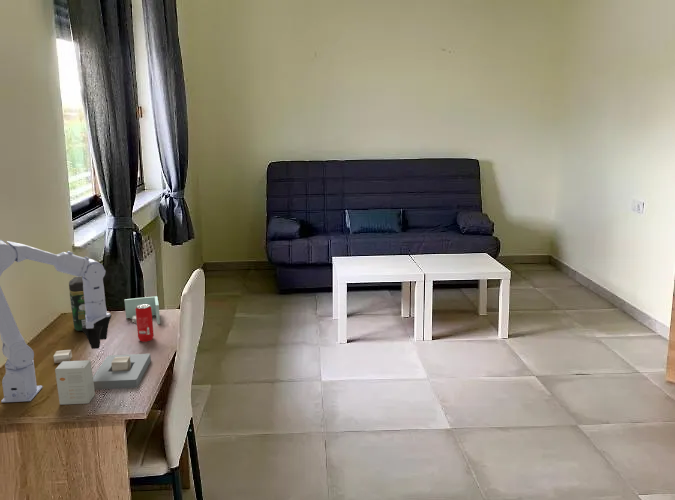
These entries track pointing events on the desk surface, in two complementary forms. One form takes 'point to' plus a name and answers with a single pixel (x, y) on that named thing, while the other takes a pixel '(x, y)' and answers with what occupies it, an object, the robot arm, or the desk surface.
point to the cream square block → (121, 364)
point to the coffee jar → (77, 302)
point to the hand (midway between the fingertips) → (99, 343)
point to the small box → (75, 382)
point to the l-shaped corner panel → (132, 303)
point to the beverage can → (144, 322)
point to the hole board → (121, 373)
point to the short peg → (62, 356)
